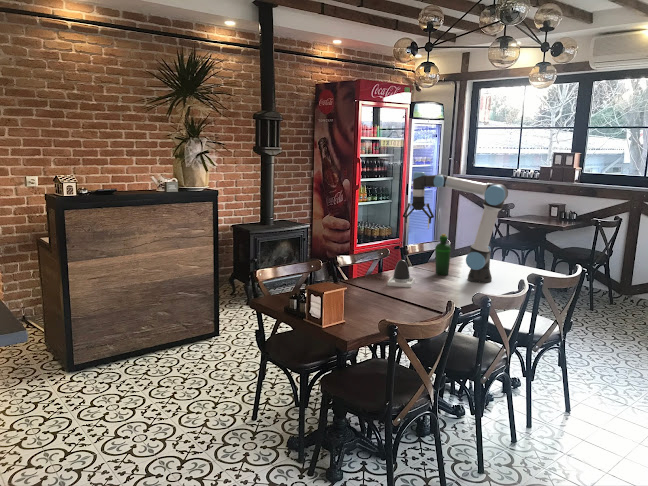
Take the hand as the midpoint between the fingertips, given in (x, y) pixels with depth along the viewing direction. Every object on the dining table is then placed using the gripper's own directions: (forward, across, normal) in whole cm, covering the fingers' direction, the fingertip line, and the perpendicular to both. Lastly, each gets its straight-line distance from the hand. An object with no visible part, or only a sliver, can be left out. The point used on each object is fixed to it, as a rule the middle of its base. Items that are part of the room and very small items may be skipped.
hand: (417, 228), depth 345 cm
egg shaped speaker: (+33, +8, +19) cm, 39 cm away
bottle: (+34, -16, -14) cm, 40 cm away
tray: (+34, +8, +19) cm, 39 cm away
